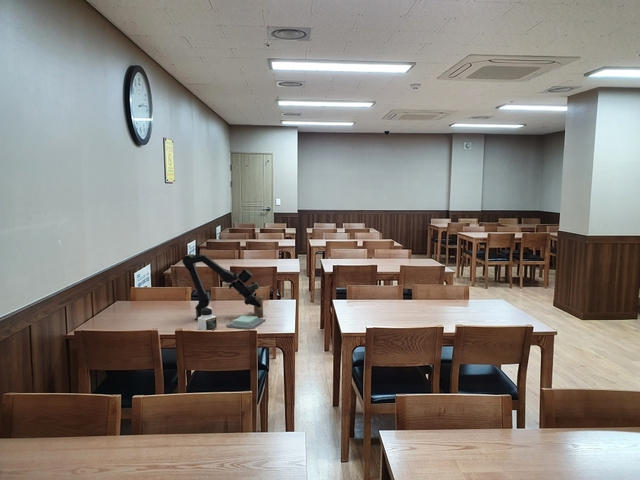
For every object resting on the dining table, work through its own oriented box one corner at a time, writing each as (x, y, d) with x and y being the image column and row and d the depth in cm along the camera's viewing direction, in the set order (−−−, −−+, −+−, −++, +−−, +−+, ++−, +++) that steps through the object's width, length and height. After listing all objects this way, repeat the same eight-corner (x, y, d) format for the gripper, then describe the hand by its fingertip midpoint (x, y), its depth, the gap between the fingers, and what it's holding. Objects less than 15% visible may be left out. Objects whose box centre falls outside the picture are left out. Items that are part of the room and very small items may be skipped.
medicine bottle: (206, 332, 236) (205, 310, 235) (198, 329, 241) (197, 308, 239) (217, 328, 242) (216, 307, 240) (208, 326, 246) (207, 305, 245)
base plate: (226, 327, 244) (226, 321, 244) (241, 318, 259) (240, 313, 258) (251, 330, 238) (251, 324, 238) (265, 321, 253) (265, 315, 253)
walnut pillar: (254, 317, 260) (253, 298, 258) (254, 315, 265) (254, 295, 263) (262, 317, 260) (262, 297, 259) (263, 314, 265) (262, 295, 264)
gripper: (249, 281, 250) (269, 300, 252) (251, 275, 268) (270, 291, 271) (235, 296, 250) (256, 313, 253) (239, 288, 269) (258, 304, 271)
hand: (260, 305), depth 262 cm, fingers closed on walnut pillar, 5 cm apart
